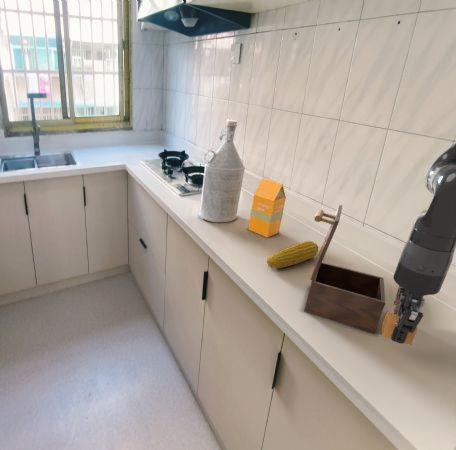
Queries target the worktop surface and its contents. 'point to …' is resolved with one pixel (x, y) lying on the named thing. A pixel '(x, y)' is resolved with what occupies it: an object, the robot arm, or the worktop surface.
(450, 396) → the worktop surface
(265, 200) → the orange juice
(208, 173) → the grey jug
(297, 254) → the food
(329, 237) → the bread lid
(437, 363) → the worktop surface
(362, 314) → the bin
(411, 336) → the tan cuboid
